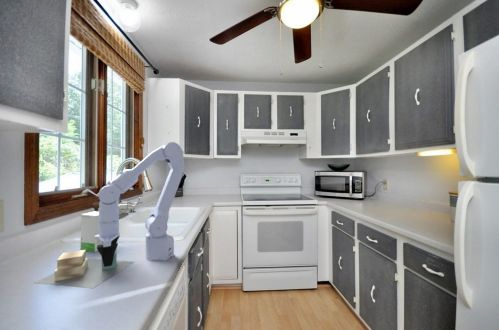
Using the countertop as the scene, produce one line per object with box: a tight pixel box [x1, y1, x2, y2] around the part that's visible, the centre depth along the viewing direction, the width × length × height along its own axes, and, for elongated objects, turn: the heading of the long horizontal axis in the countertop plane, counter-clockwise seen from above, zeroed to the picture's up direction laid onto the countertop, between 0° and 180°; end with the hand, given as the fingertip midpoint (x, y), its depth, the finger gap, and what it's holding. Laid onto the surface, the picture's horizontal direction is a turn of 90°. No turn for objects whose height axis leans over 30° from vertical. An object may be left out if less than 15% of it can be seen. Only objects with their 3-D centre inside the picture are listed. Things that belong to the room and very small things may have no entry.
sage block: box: [101, 248, 118, 270], centre depth 75 cm, size 4×4×5 cm
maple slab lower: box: [54, 257, 89, 281], centre depth 70 cm, size 7×7×3 cm
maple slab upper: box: [56, 249, 87, 270], centre depth 70 cm, size 6×6×3 cm
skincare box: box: [79, 210, 103, 253], centre depth 92 cm, size 8×7×16 cm
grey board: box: [33, 258, 135, 289], centre depth 71 cm, size 20×17×1 cm
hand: (109, 261), depth 75 cm, fingers open, 7 cm apart
